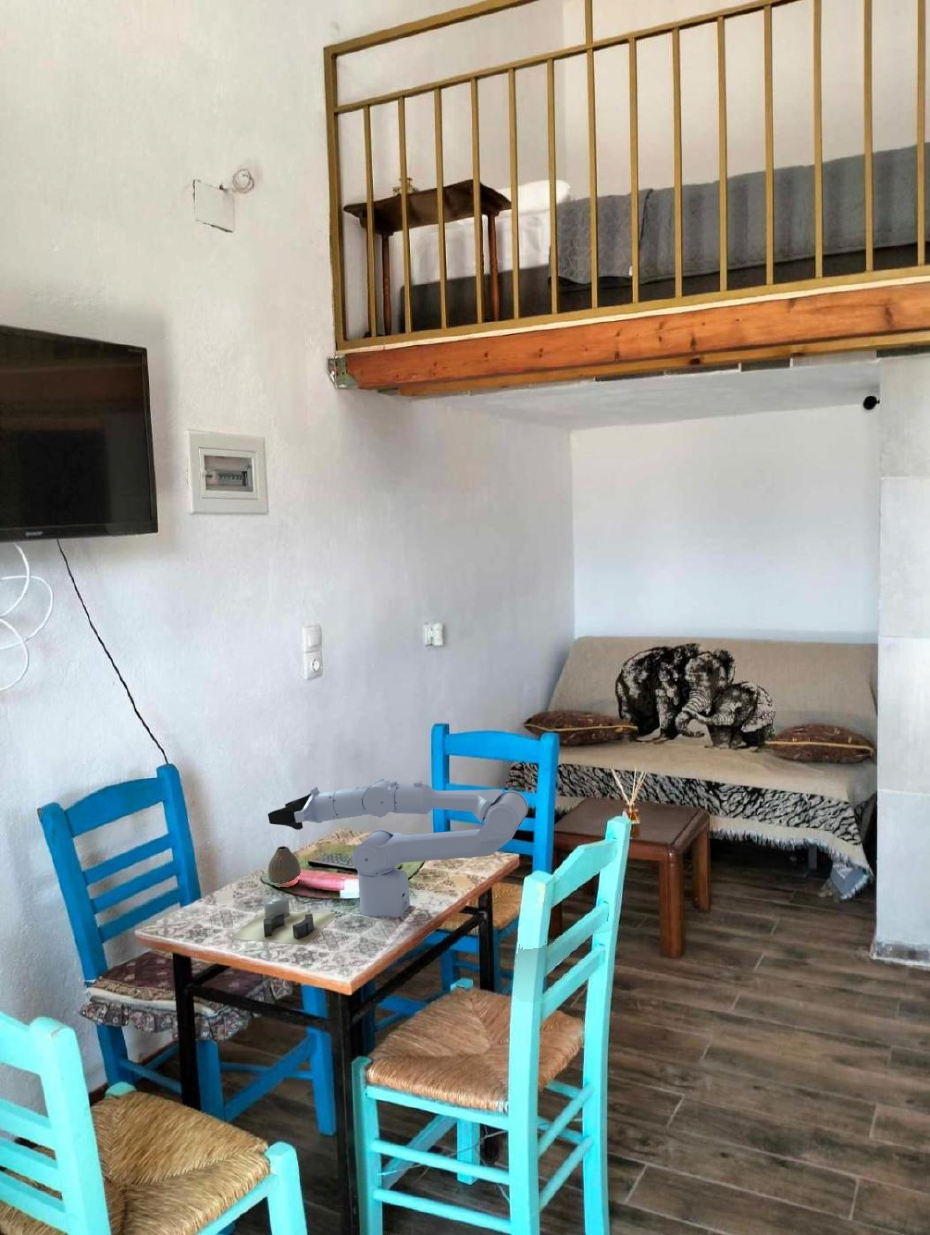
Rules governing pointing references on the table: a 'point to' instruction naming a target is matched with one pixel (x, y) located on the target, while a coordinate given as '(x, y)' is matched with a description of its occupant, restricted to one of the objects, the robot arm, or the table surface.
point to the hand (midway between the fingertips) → (278, 813)
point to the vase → (283, 866)
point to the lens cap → (277, 906)
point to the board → (283, 928)
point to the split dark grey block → (278, 921)
